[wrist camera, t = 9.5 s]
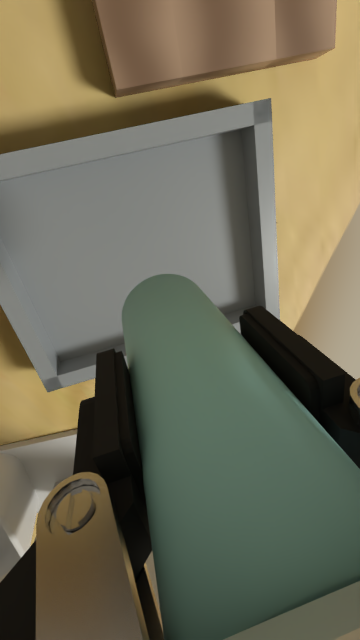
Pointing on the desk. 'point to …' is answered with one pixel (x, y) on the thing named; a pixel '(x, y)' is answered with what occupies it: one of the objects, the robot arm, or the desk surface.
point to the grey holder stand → (34, 491)
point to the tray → (134, 229)
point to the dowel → (231, 472)
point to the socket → (207, 38)
